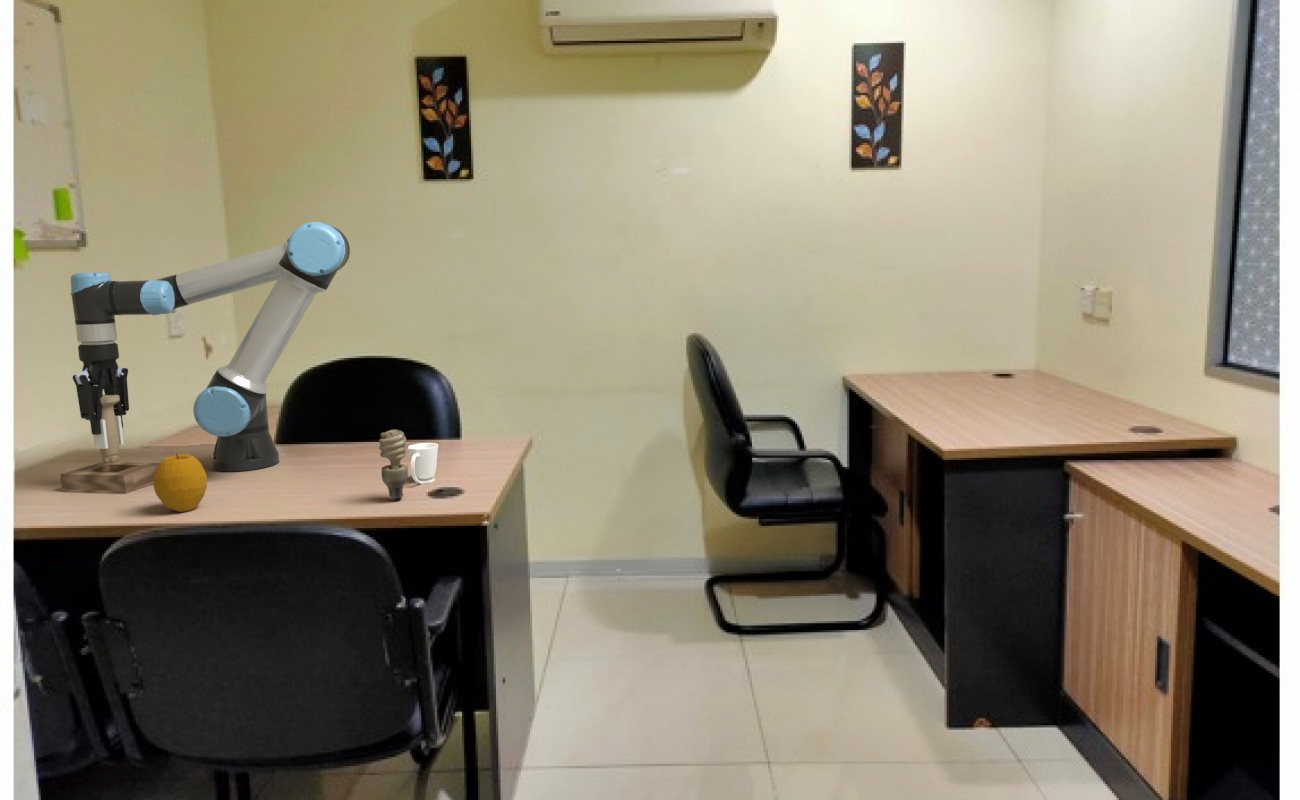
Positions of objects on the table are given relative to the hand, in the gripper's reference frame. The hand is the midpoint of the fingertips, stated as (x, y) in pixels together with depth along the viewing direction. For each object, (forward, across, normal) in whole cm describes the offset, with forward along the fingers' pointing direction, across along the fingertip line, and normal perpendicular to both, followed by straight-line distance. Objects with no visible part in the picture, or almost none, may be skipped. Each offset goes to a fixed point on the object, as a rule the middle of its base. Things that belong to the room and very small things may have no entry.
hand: (109, 446), depth 197 cm
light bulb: (+9, +5, +71) cm, 72 cm away
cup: (+9, -10, +70) cm, 71 cm away
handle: (+4, 0, 0) cm, 4 cm away
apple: (+9, +16, +30) cm, 35 cm away
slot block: (+9, 0, 0) cm, 9 cm away
